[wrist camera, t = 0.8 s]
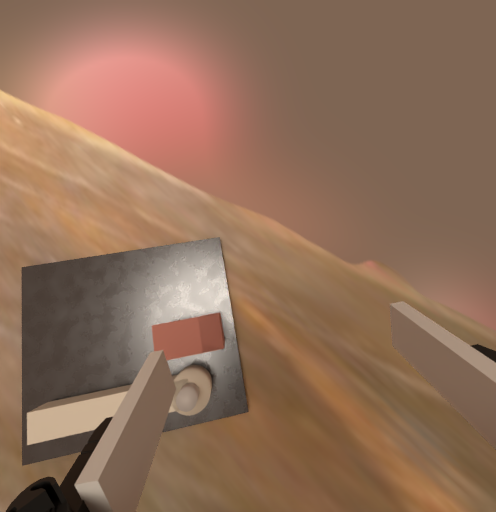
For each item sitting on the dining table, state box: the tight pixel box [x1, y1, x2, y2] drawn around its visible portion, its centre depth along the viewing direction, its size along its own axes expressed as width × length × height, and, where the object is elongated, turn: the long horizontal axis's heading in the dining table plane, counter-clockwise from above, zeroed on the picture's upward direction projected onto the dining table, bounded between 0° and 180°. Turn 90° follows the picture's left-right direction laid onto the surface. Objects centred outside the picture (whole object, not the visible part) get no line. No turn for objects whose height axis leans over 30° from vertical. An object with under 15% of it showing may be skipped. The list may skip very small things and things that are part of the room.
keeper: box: [152, 312, 225, 360], centre depth 38 cm, size 5×10×8 cm, turn 100°
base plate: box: [22, 237, 248, 466], centre depth 42 cm, size 30×34×2 cm
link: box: [27, 365, 212, 445], centre depth 35 cm, size 25×6×7 cm, turn 100°
